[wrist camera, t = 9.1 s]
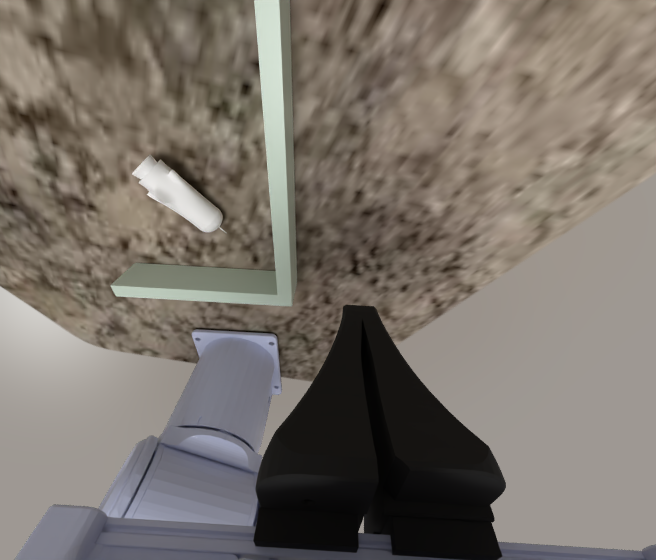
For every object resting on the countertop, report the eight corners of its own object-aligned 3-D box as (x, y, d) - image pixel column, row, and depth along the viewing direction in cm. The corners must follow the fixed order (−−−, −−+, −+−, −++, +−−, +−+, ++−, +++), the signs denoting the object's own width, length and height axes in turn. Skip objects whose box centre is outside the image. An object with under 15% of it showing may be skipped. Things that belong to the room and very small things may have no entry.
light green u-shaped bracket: (297, 282, 23) (291, 306, 21) (139, 273, 23) (115, 296, 21) (288, -41, 13) (276, -68, 10) (0, -56, 13) (-79, -86, 10)
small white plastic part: (189, 237, 21) (168, 258, 19) (144, 152, 18) (113, 165, 15) (233, 229, 21) (219, 251, 18) (197, 141, 17) (172, 153, 15)
